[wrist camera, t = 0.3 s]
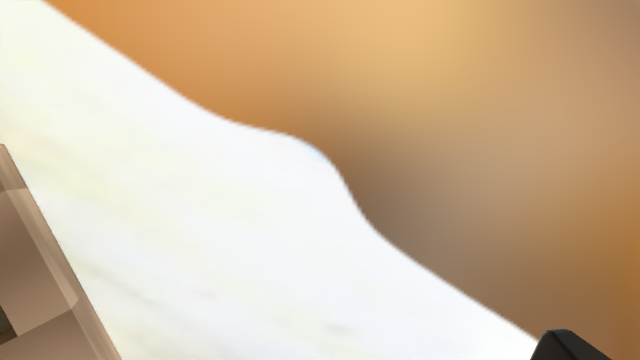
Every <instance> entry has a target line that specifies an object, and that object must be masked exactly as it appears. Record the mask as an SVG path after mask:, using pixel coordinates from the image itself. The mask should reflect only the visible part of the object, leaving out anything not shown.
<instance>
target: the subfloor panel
mask: <svg viewBox="0 0 640 360" xmlns="http://www.w3.org/2000/svg"><path fill="white" fill-rule="evenodd" d="M0 306H1V307H2V309H3V311H4V313H5V314H6V316H7V318H8V320H9V322H10V323H11V325H12V327H13V328H11V329H9V330H7V331H6V332H4V333H2V334H0V360H122V359H121V358H120V356H119V354H118V352H117V350H116V348H115V347H114V345H113V343H112V341H111V339H110V337H109V336H108V334H107V332H106V330H105V328H104V326H103V325H102V323H101V321H100V319H99V317H98V315H97V314H96V312H95V310H94V308H93V306H92V304H91V303H90V301H89V299H88V297H87V295H86V293H85V292H84V290H83V288H82V286H81V284H80V282H79V281H78V279H77V277H76V275H75V273H74V272H73V270H72V268H71V266H70V264H69V262H68V261H67V259H66V257H65V255H64V253H63V251H62V250H61V248H60V246H59V244H58V242H57V240H56V239H55V237H54V235H53V233H52V231H51V229H50V228H49V226H48V224H47V222H46V220H45V218H44V217H43V215H42V213H41V211H40V209H39V207H38V206H37V204H36V202H35V200H34V198H33V196H32V195H31V193H30V191H29V189H28V187H27V185H26V184H25V182H24V180H23V178H22V176H21V174H20V173H19V171H18V169H17V167H16V165H15V163H14V162H13V160H12V158H11V156H10V154H9V152H8V151H7V149H6V147H5V145H4V144H0Z"/></svg>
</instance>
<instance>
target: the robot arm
mask: <svg viewBox="0 0 640 360" xmlns="http://www.w3.org/2000/svg"><path fill="white" fill-rule="evenodd" d="M530 360H612V359H610V358H609V357H607V356H606V355H605V354H603V353H602V352H600V351H599V350H598V349H596V348H595V347H593V346H592V345H590V344H589V343H588V342H586V341H585V340H583V339H582V338H580V337H579V336H578V335H576V334H575V333H573V332H572V331H570V330H567V329H555V330H547V331H545V332H544V333H543V334H542V336H541V338H540V340H539V342H538V344H537V346H536V348H535V350H534V353H533V355H532V357H531V359H530Z"/></svg>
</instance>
